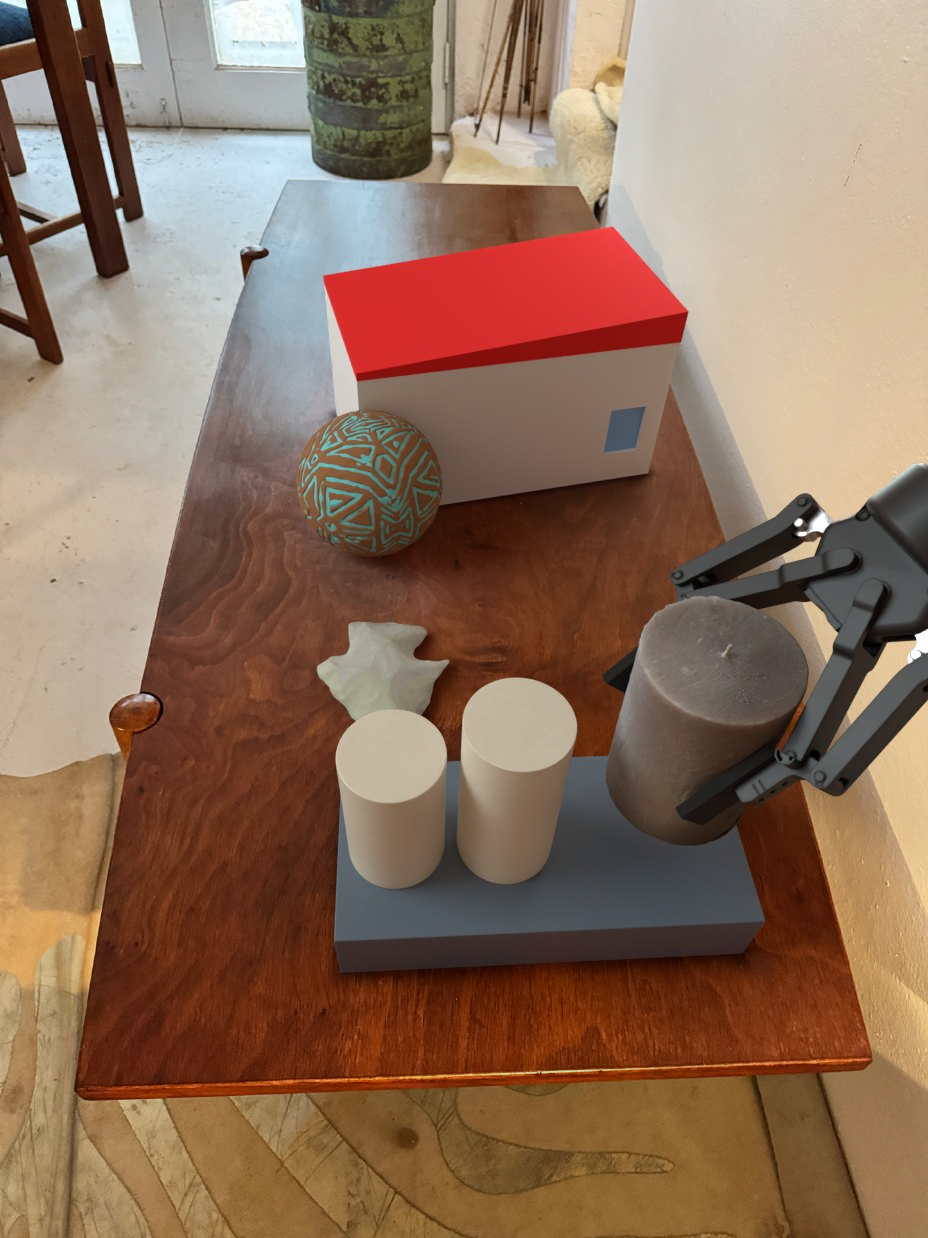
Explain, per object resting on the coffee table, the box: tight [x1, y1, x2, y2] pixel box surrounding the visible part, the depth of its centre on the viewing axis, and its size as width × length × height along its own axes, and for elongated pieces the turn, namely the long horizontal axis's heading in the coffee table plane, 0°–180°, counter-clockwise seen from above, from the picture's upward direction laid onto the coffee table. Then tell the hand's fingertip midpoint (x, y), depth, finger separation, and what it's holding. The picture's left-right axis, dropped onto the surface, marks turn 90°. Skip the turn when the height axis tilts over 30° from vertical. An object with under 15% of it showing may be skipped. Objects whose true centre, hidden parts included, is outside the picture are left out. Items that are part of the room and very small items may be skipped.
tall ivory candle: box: [457, 677, 578, 884], centre depth 57 cm, size 7×7×15 cm
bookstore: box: [322, 226, 690, 506], centre depth 98 cm, size 21×35×21 cm, turn 105°
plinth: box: [333, 755, 766, 974], centre depth 65 cm, size 30×14×6 cm, turn 93°
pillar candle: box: [606, 596, 810, 846], centre depth 53 cm, size 10×10×15 cm
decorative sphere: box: [295, 410, 442, 558], centre depth 87 cm, size 15×15×15 cm
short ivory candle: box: [335, 709, 448, 889], centre depth 58 cm, size 7×7×12 cm
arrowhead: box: [316, 621, 450, 722], centre depth 78 cm, size 12×3×15 cm
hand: (649, 747), depth 53 cm, fingers closed on pillar candle, 10 cm apart
